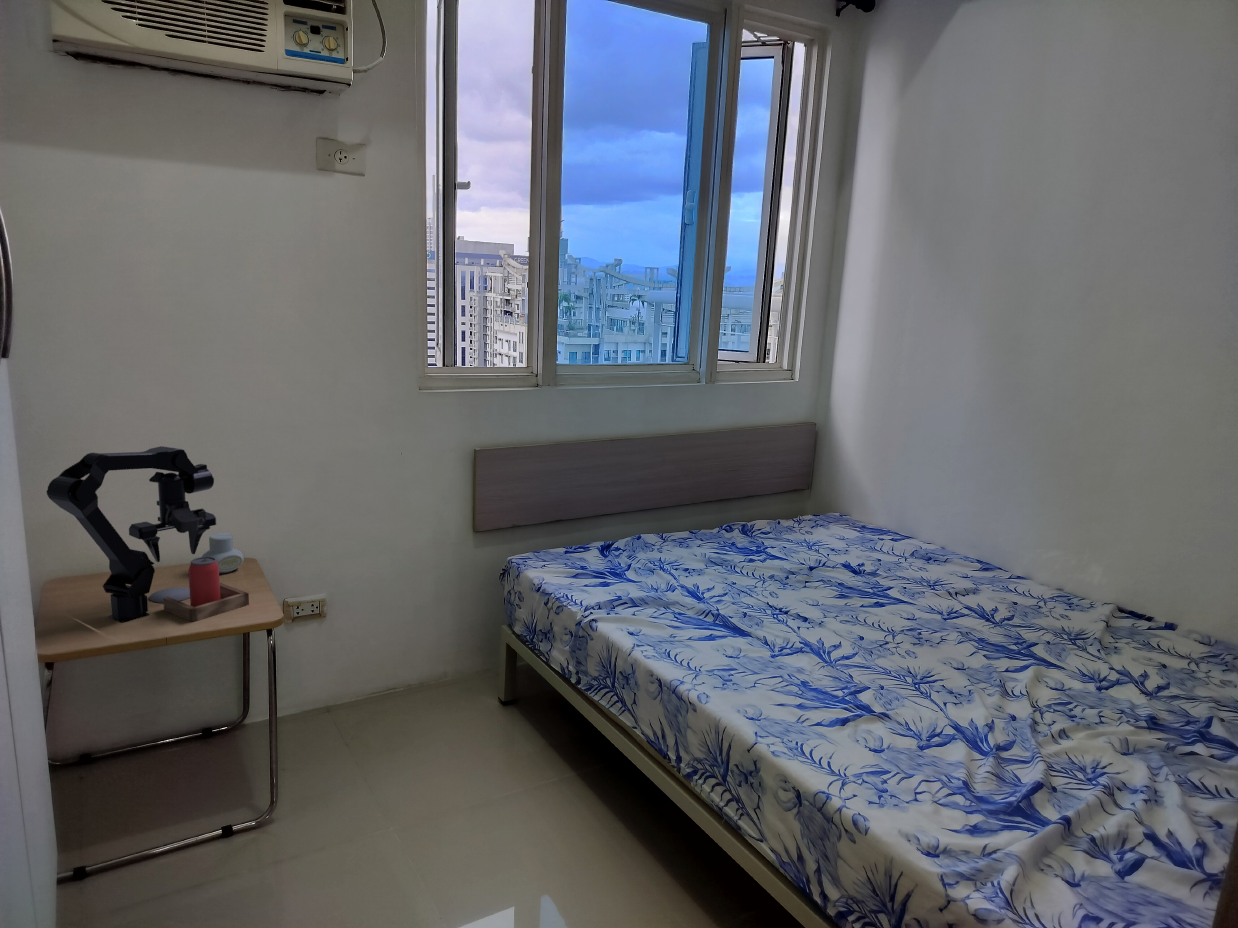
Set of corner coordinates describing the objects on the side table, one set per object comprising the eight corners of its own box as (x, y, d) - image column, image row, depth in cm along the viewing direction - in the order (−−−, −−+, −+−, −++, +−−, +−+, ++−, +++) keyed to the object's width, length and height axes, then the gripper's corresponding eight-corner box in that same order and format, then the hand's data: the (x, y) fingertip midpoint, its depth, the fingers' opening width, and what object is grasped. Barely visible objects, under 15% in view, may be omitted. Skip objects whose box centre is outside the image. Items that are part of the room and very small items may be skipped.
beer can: (226, 602, 198) (224, 557, 195) (210, 612, 191) (207, 565, 189) (201, 600, 198) (198, 555, 196) (184, 610, 192) (181, 563, 189)
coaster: (163, 605, 194) (163, 604, 194) (141, 596, 199) (141, 595, 199) (202, 594, 202) (202, 593, 202) (181, 586, 207) (180, 584, 207)
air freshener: (210, 578, 214) (208, 542, 212) (195, 571, 219) (193, 536, 217) (249, 569, 223) (247, 535, 221) (234, 562, 228) (232, 529, 226)
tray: (192, 621, 185) (191, 609, 185) (164, 609, 191) (163, 597, 191) (249, 604, 197) (248, 593, 197) (220, 593, 204) (219, 582, 203)
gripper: (148, 509, 183) (153, 573, 186) (226, 496, 198) (229, 556, 201) (125, 501, 189) (130, 563, 192) (202, 489, 204) (206, 547, 207)
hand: (175, 557), depth 198 cm, fingers open, 8 cm apart
